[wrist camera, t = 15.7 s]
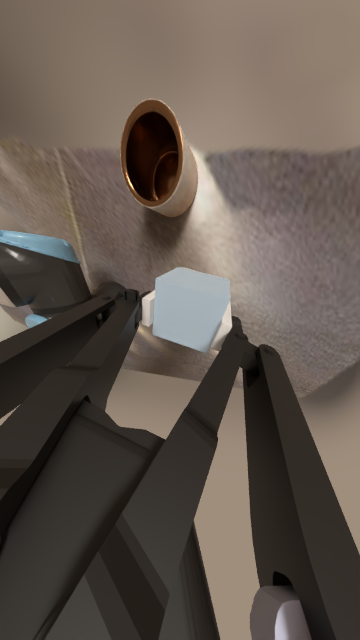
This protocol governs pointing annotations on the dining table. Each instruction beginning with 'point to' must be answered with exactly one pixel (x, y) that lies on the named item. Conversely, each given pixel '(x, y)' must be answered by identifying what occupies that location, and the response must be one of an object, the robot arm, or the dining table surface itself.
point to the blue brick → (189, 307)
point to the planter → (158, 159)
